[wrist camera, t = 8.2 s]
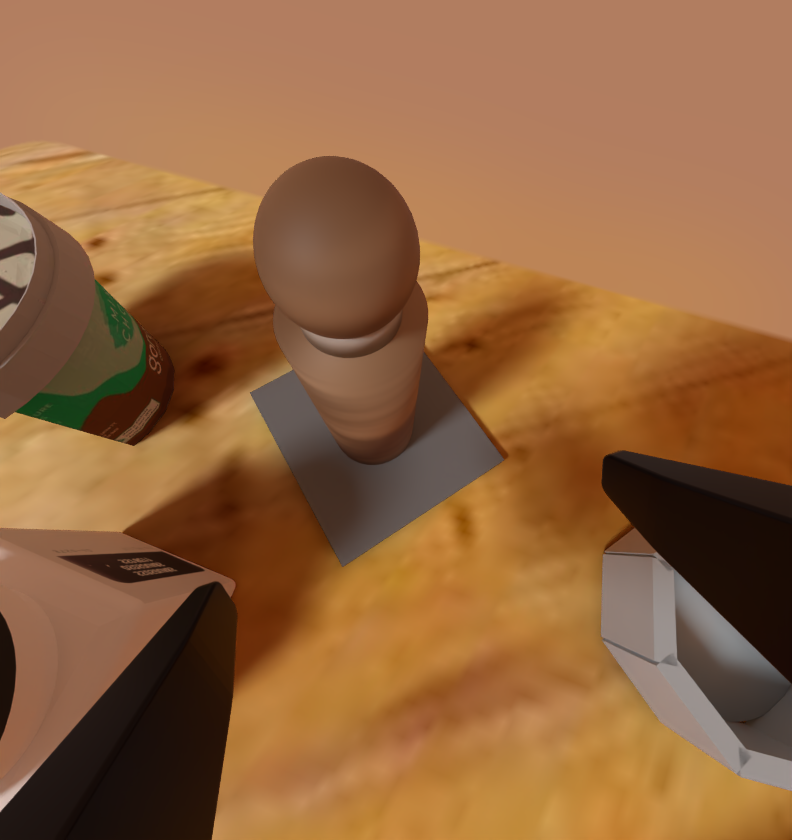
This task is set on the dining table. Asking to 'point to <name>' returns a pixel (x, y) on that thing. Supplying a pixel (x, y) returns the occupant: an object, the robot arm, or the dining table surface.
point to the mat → (376, 484)
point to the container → (74, 630)
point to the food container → (71, 338)
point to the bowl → (695, 665)
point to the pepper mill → (346, 299)
